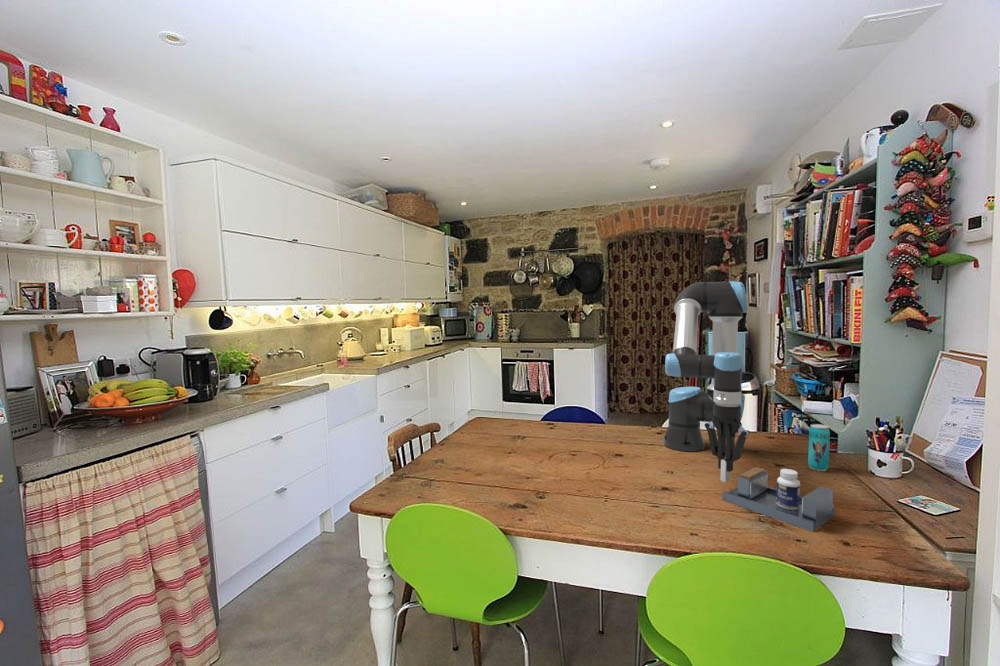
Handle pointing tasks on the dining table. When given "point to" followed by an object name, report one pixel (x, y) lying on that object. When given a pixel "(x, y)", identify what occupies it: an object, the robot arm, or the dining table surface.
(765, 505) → the vise bed
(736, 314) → the robot arm
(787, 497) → the pill bottle
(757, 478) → the sliding jaw
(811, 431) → the beverage can
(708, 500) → the dining table surface
